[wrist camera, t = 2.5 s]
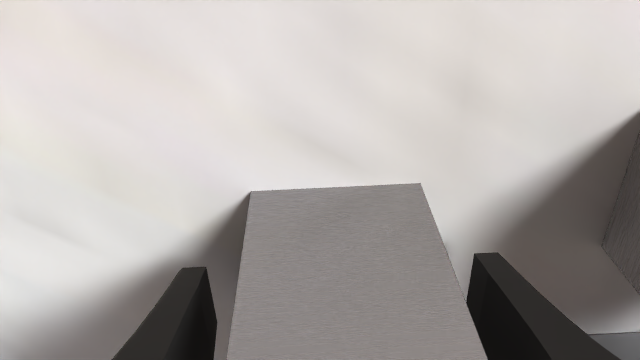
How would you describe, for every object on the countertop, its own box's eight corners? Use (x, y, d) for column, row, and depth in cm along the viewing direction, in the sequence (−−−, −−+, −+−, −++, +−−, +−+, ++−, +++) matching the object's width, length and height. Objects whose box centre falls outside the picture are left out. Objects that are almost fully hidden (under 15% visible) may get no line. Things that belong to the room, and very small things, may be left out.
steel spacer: (266, 311, 16) (251, 522, 11) (251, 190, 14) (222, 388, 8) (410, 304, 16) (462, 511, 11) (419, 182, 14) (493, 373, 8)
